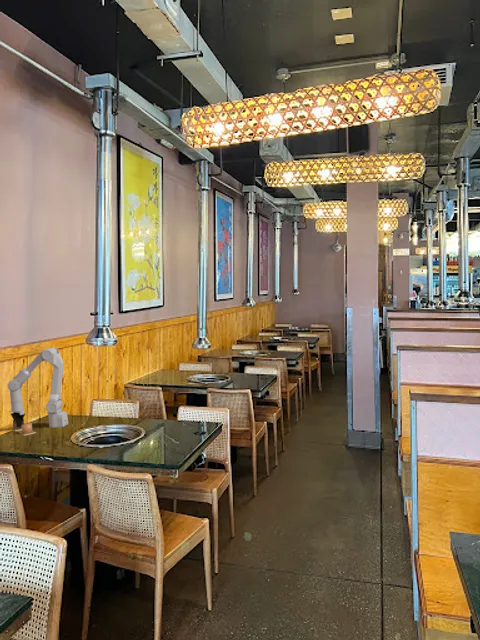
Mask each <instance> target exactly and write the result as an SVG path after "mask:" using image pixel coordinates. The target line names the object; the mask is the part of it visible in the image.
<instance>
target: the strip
mask: <svg viewBox="0 0 480 640" xmlns="http://www.w3.org/2000/svg"><path fill="white" fill-rule="evenodd" d="M12 424H13V425H12V426H13V427H12V428H13V429H11V430H12V431H14V432H17V433H19V434H21V435H23V436H25V437H26V436H30V435H33V434H37V432H36V431H34V430H32V433H28V434H22V426H21V427H18V426H17V423H16V420H14V419H13V420H12ZM23 424H25V419H24V418H23Z"/></svg>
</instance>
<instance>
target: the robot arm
mask: <svg viewBox="0 0 480 640" xmlns="http://www.w3.org/2000/svg"><path fill="white" fill-rule="evenodd" d="M44 361H46V362H47V363H49V364H51V366H53V367H52V368H53V369H52V376H51V387H50V394H49V397H48V402H47V403H46V406H45V409H46V411H47V415H48V427H49V428H63V427H65V426H67V425H69V419H68V417H69V416H68V413H67V411H63V409H62V407H63V400H62V394H61V392H62V391H61V390H62V382H63V376H64V375H63V372H64V364H65V363H64V360H63V358H62V356H61V352H60V350H59V349H57V348H56V347H54V346H51V347H48V348H44V349H43V350H42V351H41V352H40V353H39V354H38V355H36V357H35V358H34V359H33V360H32V361H31V363H29V365H28V366H26V368H22V369H20V370H19V371H18V373H17V374H16V375H15V376H13V377H12V379H11V380H9V381H8V383H7V389H8V390H9V398H10V407H11V408H10V410H9V411H8V412H9V413H10V415H11V418H12V419H13V420H16V423H17V426H18V427H21V425H22V424H23V419H24V417H25V416H26V413H25V411H24V405H23V404H24V403H23V394H22V388H23V384H25V383H26V382H27V381H28V380H29V378H31V376H32V372H33V371H34V370H35V369H36V368H37V367H38V366H40V364H41V363H42V362H44Z"/></svg>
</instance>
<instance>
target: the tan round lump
mask: <svg viewBox="0 0 480 640" xmlns="http://www.w3.org/2000/svg"><path fill="white" fill-rule="evenodd" d="M21 426H22V434H28V433H32V431H33V424H32V422H26V423H25V422H24V424H22V425H21ZM22 434H21V435H22Z"/></svg>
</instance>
